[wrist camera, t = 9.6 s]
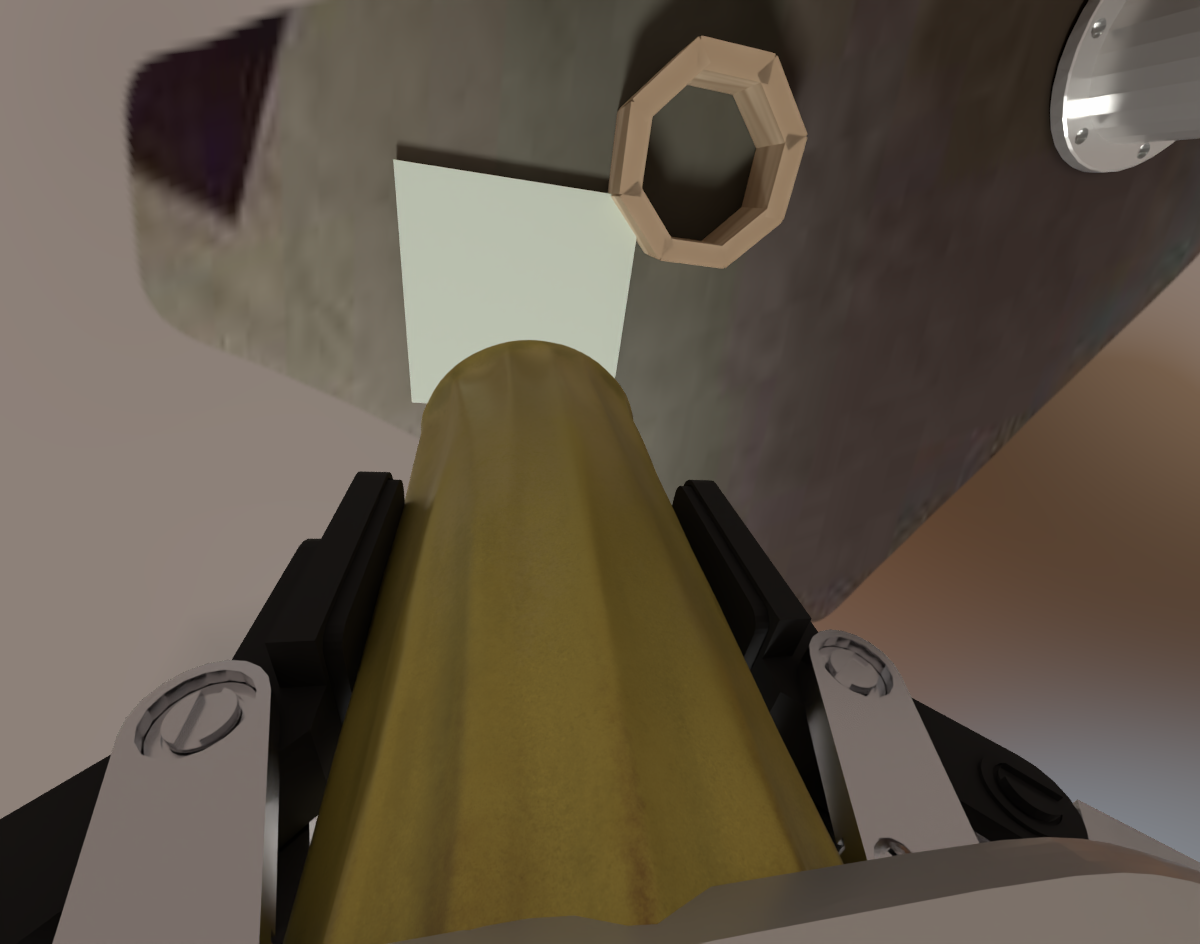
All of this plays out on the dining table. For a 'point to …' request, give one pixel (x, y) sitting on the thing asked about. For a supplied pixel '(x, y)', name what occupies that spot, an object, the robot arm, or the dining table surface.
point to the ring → (768, 123)
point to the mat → (506, 267)
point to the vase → (544, 687)
